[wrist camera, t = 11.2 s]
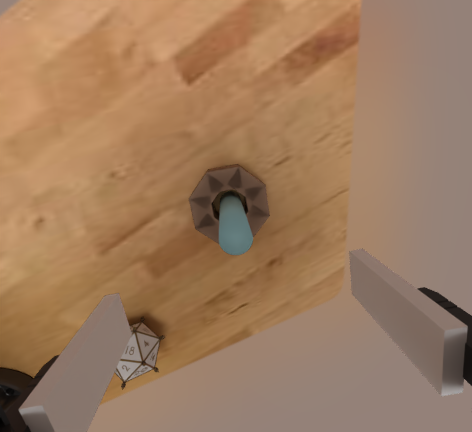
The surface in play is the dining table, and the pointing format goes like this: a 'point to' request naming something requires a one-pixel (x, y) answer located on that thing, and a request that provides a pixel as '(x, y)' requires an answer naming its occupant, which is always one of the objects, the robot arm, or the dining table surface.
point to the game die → (139, 353)
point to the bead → (222, 181)
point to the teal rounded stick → (233, 225)
